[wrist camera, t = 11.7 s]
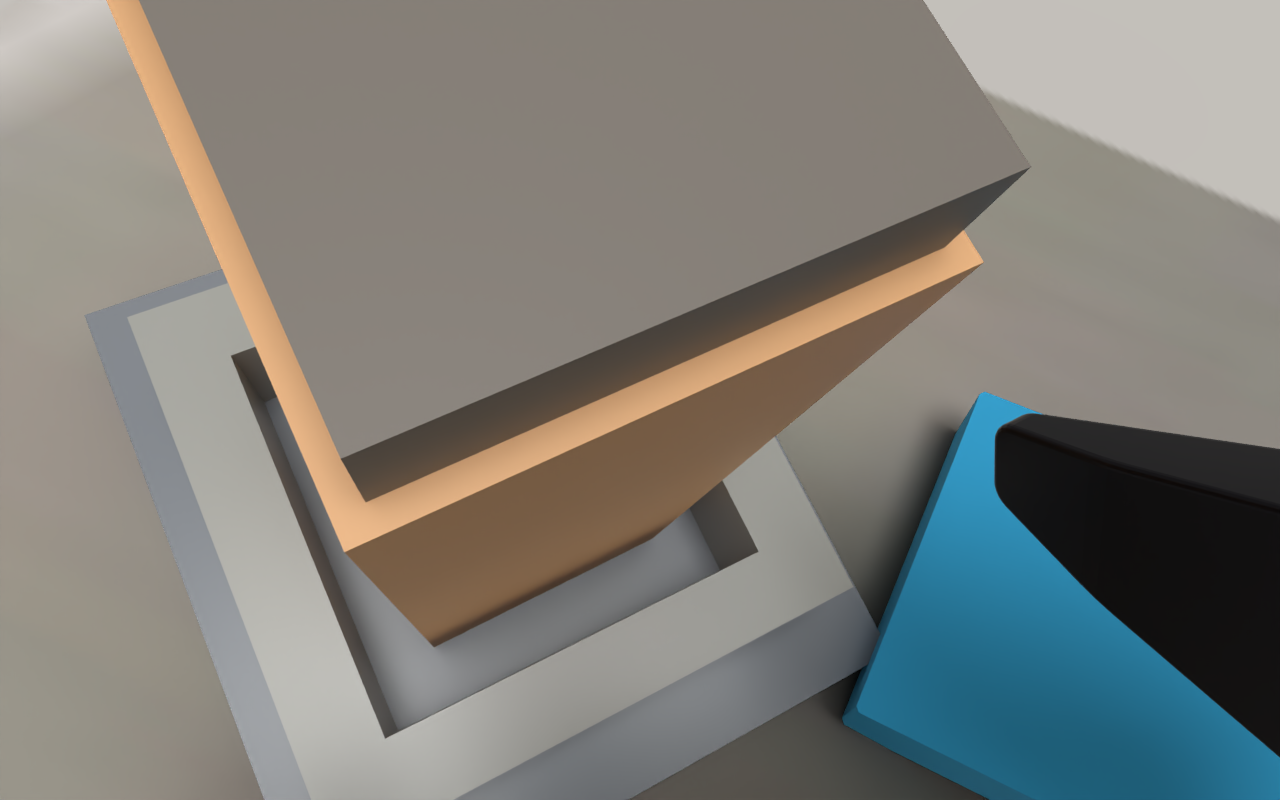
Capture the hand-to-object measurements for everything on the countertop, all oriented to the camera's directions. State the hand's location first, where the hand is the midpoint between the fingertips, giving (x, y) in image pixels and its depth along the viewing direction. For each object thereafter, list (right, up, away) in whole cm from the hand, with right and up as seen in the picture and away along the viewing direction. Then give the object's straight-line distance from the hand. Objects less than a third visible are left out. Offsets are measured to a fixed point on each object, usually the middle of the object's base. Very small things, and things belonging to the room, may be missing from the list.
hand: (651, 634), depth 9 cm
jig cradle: (-3, 0, +9) cm, 9 cm away
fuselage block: (-3, +1, +8) cm, 9 cm away
